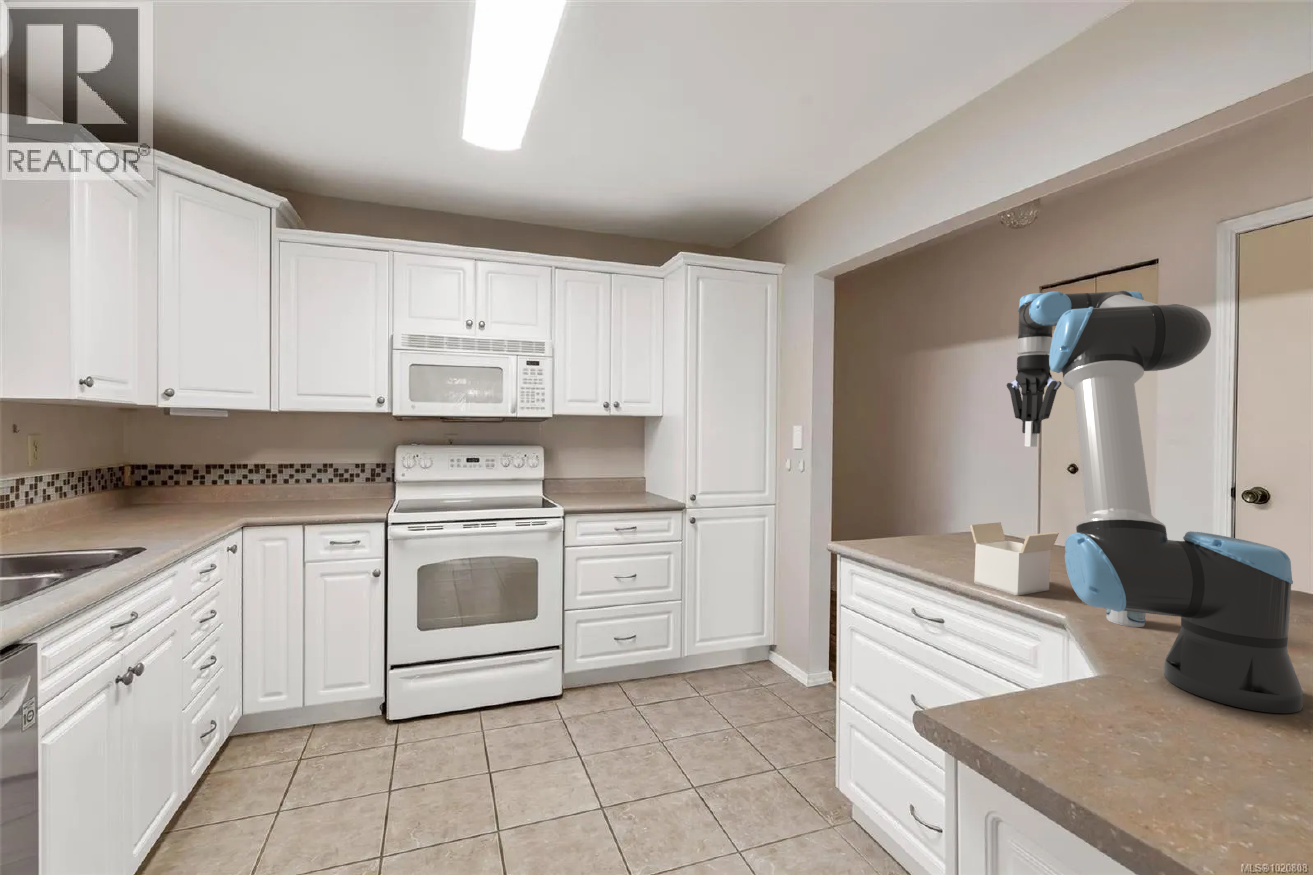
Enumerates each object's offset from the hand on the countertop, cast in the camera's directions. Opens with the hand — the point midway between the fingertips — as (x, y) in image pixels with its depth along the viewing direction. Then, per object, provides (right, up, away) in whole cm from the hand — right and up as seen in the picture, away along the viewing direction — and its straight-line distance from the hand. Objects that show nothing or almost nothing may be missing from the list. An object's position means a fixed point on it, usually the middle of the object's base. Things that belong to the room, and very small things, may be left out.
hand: (1030, 446), depth 153 cm
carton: (-10, -35, -8) cm, 37 cm away
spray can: (-1, -36, -32) cm, 48 cm away
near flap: (-7, -22, -14) cm, 27 cm away
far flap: (-12, -22, -2) cm, 25 cm away
